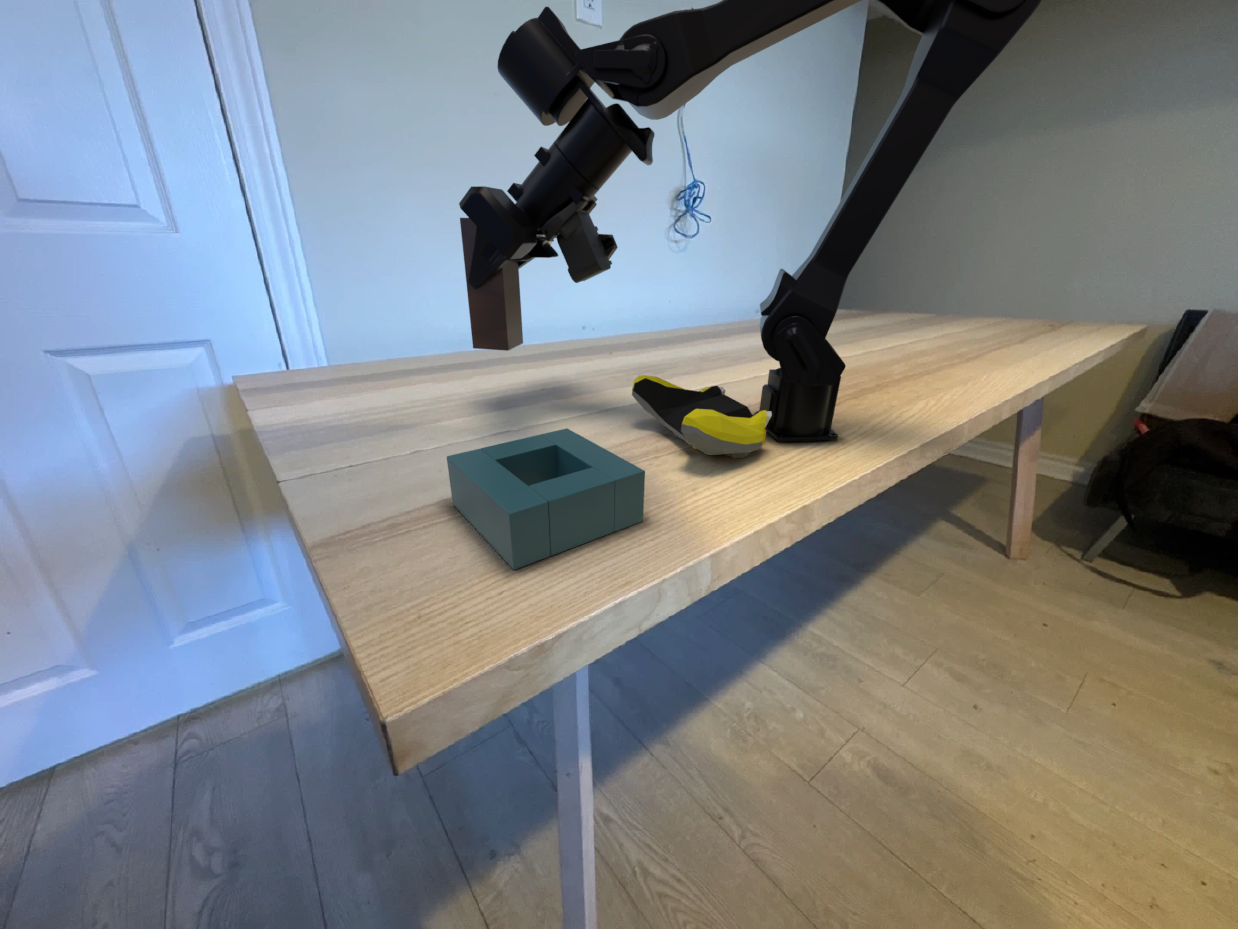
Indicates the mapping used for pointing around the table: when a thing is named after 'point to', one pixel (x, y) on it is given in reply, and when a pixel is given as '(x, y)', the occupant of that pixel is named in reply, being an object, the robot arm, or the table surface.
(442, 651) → the table surface
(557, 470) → the base pad
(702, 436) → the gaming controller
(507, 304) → the pad post
